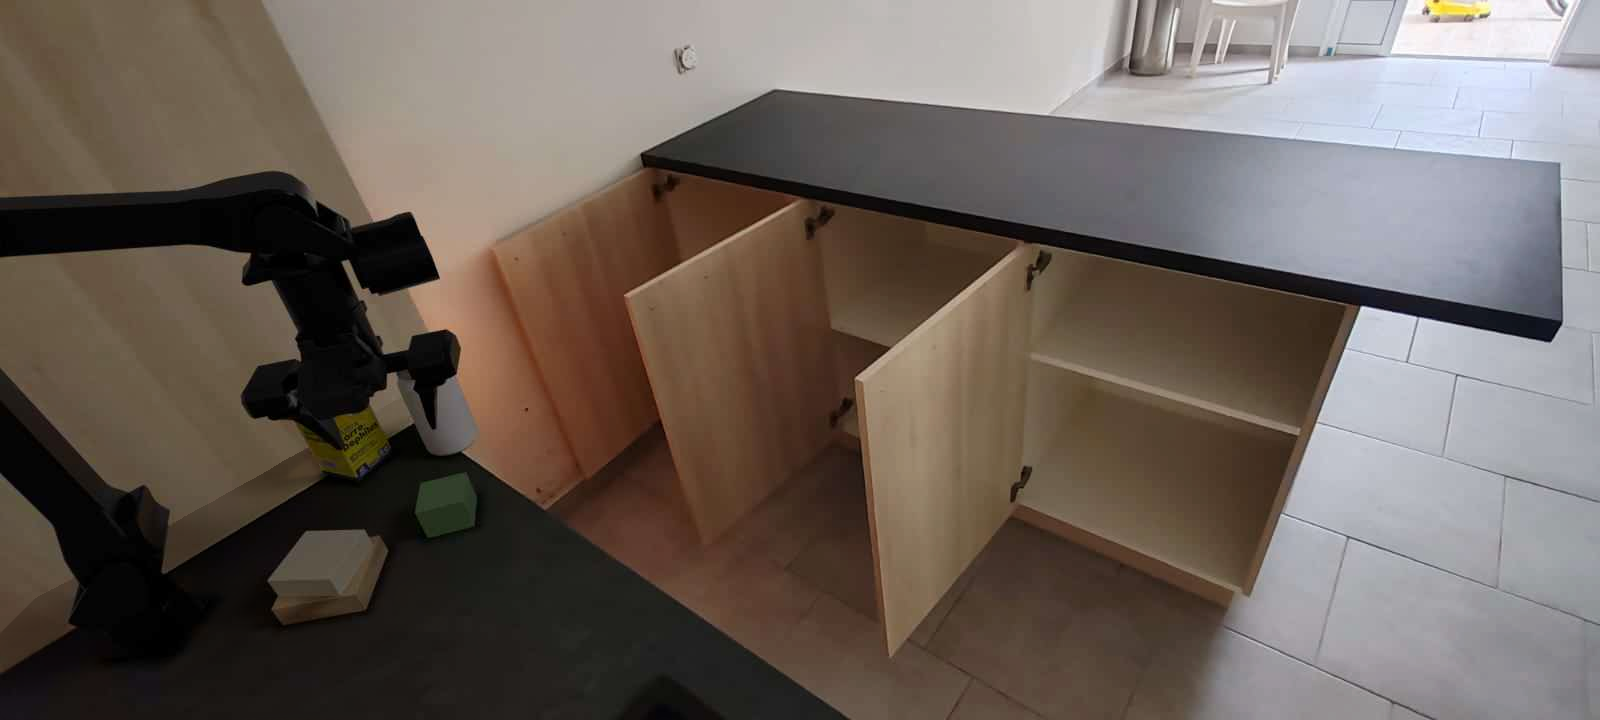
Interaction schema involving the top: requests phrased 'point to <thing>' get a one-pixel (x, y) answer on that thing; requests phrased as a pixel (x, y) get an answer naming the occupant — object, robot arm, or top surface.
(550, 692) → the top surface
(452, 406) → the can
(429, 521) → the green block
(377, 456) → the supplement box
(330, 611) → the birch base block
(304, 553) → the cream middle block
